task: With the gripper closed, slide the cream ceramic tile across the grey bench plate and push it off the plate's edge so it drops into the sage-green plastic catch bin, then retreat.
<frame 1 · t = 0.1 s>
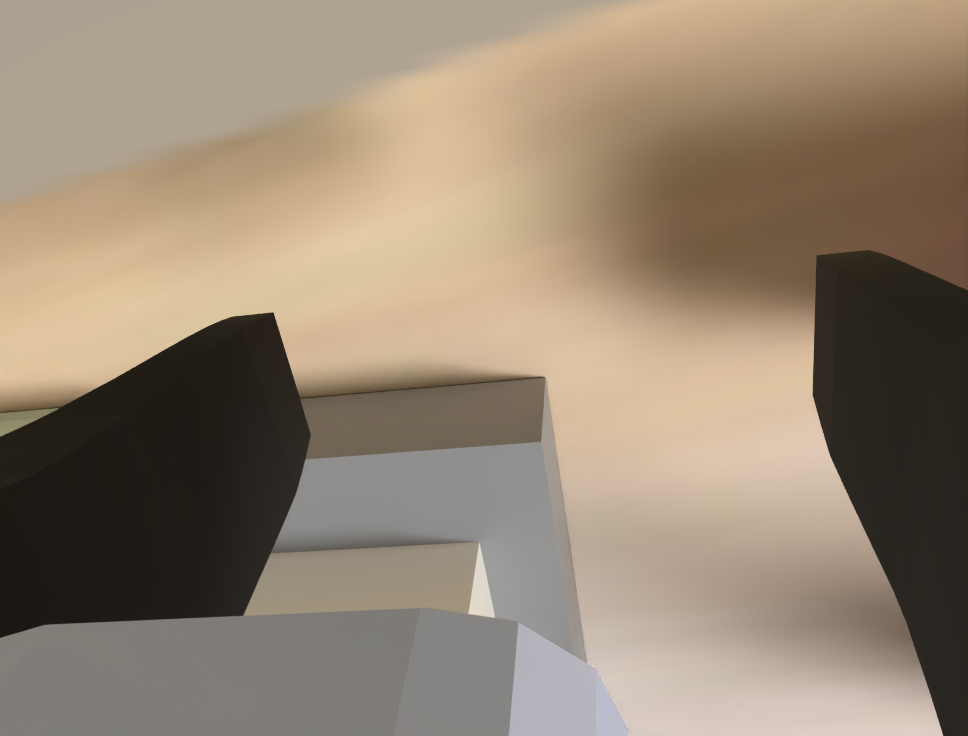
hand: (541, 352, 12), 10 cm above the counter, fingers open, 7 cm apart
bench plate: (410, 555, 27), on the counter
tile: (392, 628, 25), point 3 cm above the counter, touching bench plate
catch bin: (103, 572, 29), on the counter
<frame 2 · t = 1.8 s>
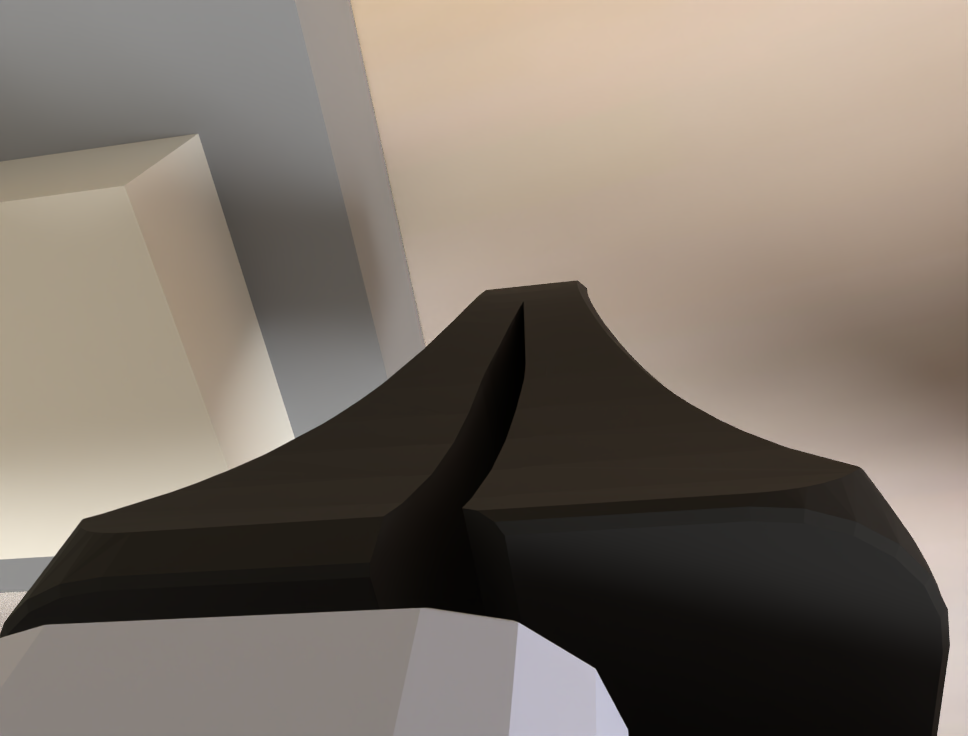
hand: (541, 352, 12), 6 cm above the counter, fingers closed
bench plate: (163, 259, 18), on the counter
tile: (92, 326, 15), point 3 cm above the counter, touching bench plate
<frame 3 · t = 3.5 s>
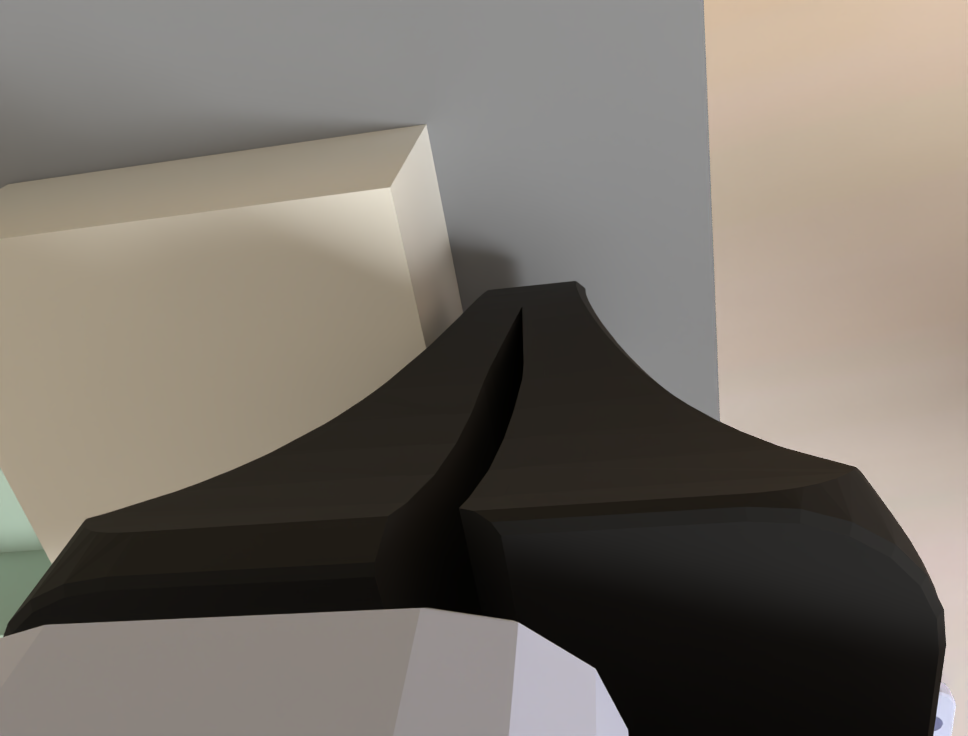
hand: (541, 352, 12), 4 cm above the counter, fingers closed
bench plate: (403, 260, 16), on the counter
tile: (271, 350, 13), point 3 cm above the counter, touching bench plate, gripper
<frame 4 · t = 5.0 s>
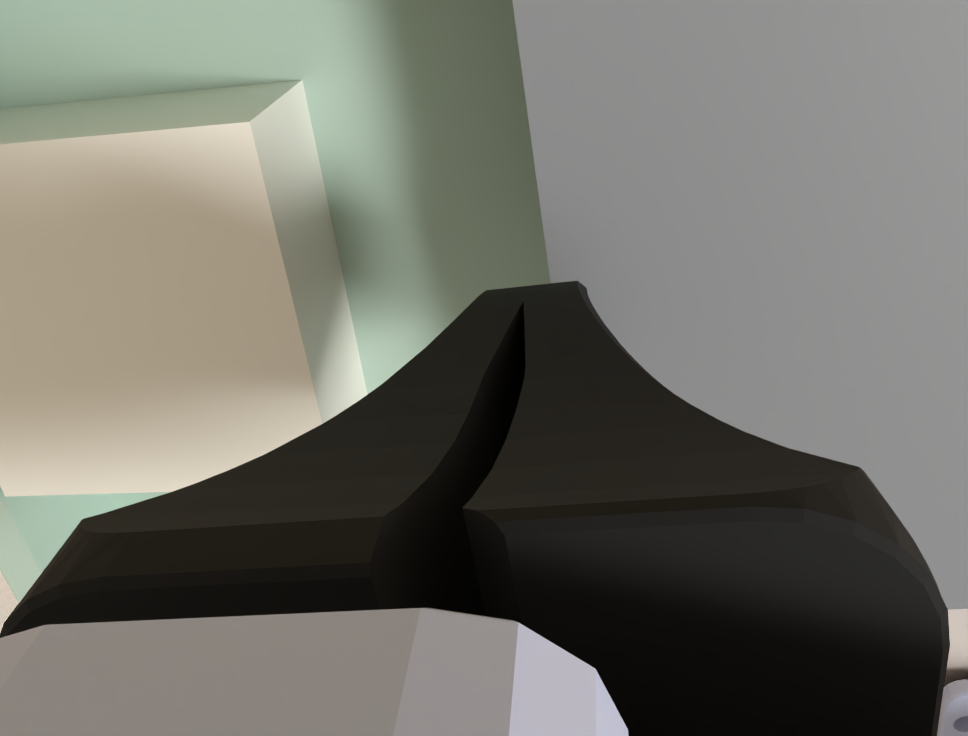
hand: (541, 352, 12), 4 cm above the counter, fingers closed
bench plate: (866, 207, 14), on the counter
tile: (109, 335, 13), point 3 cm above the counter, tilted 180°, touching catch bin
catch bin: (259, 276, 16), on the counter
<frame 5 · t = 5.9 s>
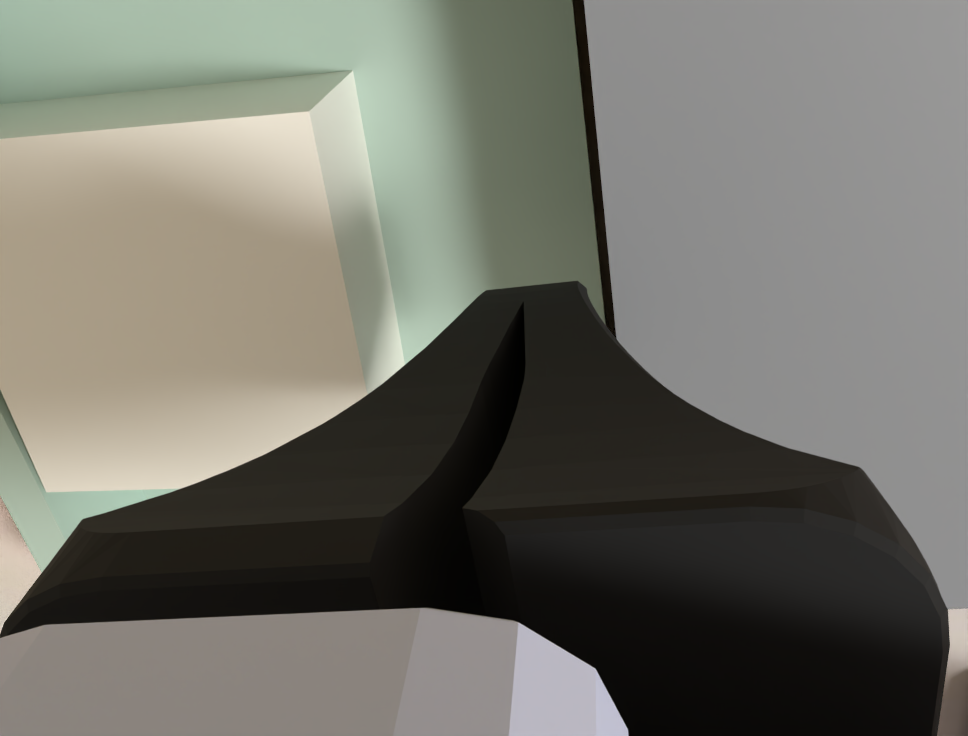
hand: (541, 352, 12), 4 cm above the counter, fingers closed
bench plate: (921, 200, 14), on the counter
tile: (158, 329, 13), point 3 cm above the counter, tilted 180°, touching catch bin
catch bin: (302, 269, 16), on the counter
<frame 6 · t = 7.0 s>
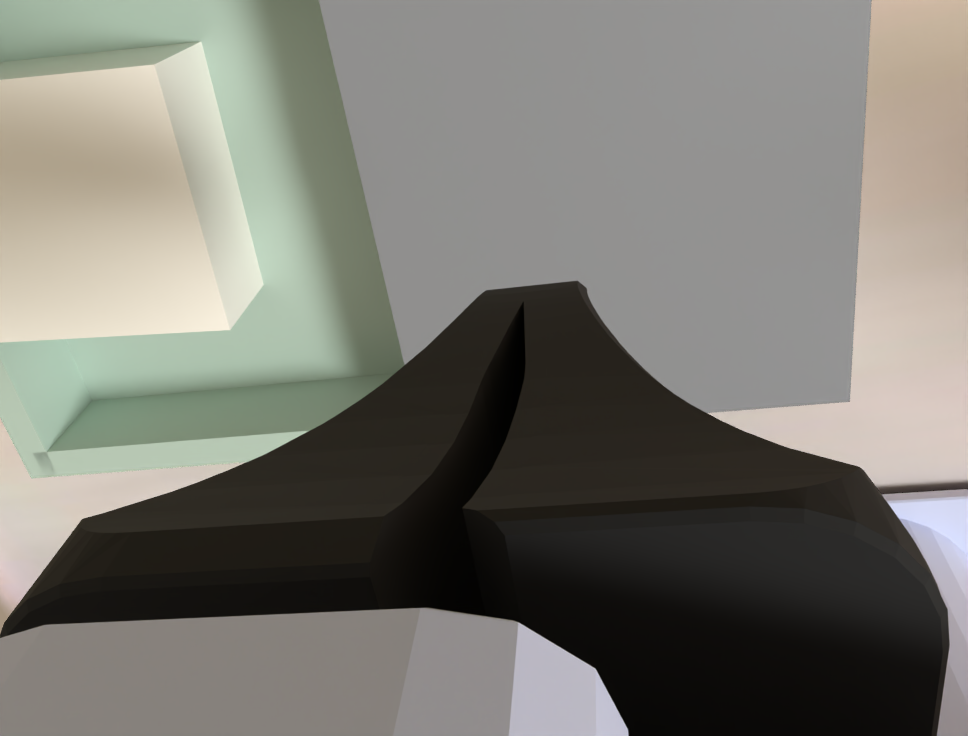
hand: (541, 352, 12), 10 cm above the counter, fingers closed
bench plate: (600, 132, 20), on the counter
tile: (67, 217, 19), point 3 cm above the counter, tilted 180°, touching catch bin
catch bin: (181, 187, 22), on the counter
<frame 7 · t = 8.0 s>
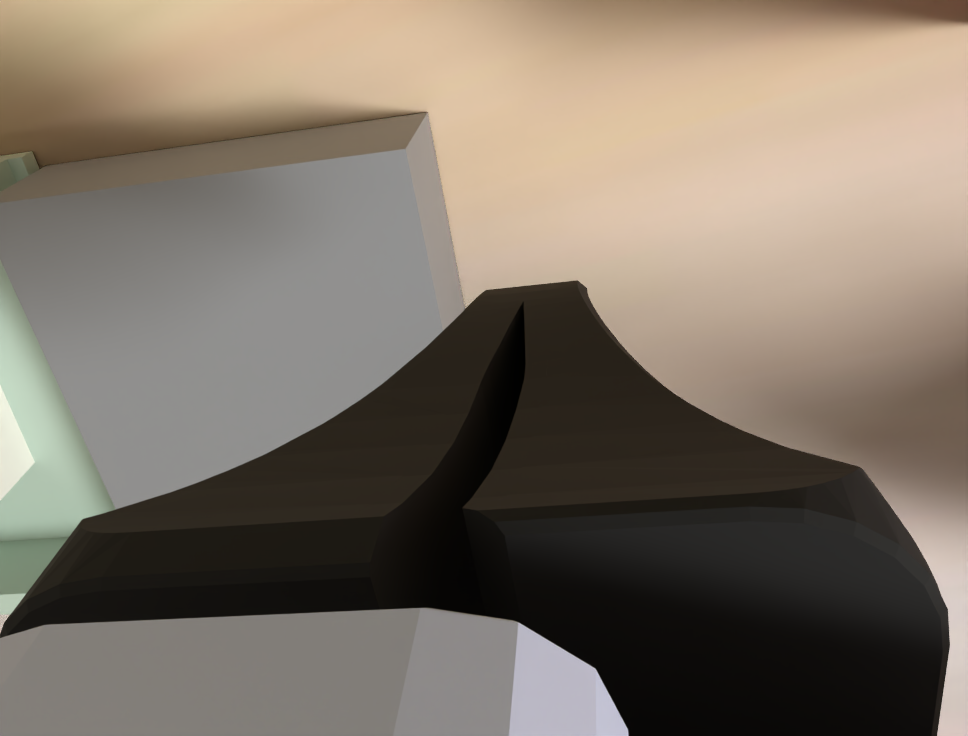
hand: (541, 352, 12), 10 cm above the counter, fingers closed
bench plate: (293, 352, 24), on the counter
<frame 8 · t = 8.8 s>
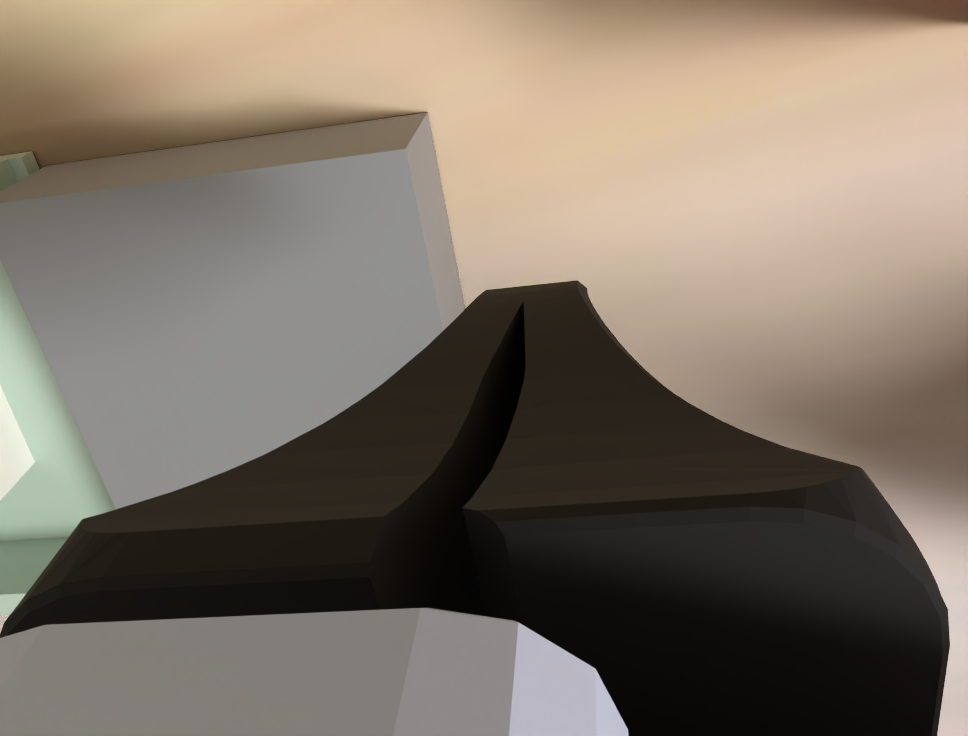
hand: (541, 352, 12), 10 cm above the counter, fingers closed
bench plate: (293, 352, 24), on the counter
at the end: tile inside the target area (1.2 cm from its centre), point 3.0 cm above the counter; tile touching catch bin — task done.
